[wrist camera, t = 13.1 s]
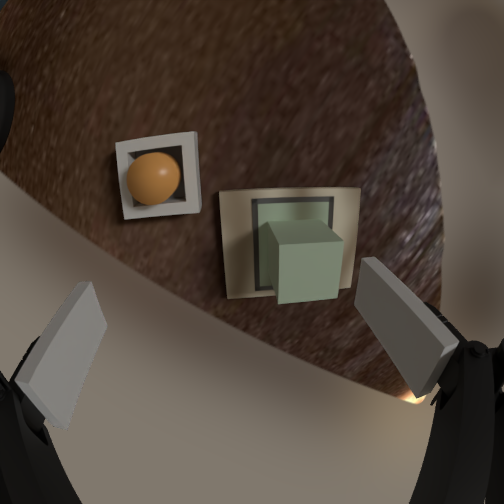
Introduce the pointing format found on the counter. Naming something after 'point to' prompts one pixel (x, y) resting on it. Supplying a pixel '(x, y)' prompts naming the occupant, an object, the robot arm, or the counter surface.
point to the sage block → (304, 260)
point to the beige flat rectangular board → (280, 209)
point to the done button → (153, 178)
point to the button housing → (189, 187)
